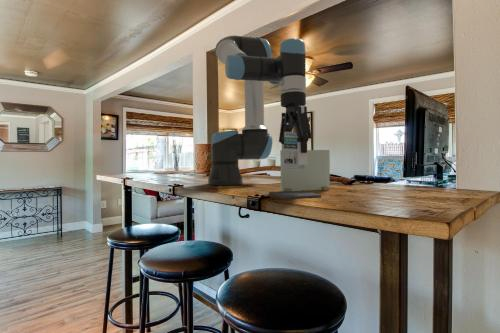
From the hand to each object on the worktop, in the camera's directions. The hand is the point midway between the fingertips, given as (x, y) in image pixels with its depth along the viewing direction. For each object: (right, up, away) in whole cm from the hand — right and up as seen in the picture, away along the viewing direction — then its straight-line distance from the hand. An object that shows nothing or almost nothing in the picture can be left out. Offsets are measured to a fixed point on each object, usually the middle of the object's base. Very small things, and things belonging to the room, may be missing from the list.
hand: (293, 164), depth 88 cm
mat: (0, -9, 0) cm, 9 cm away
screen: (+6, -9, +13) cm, 17 cm away
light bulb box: (0, -2, 0) cm, 2 cm away
